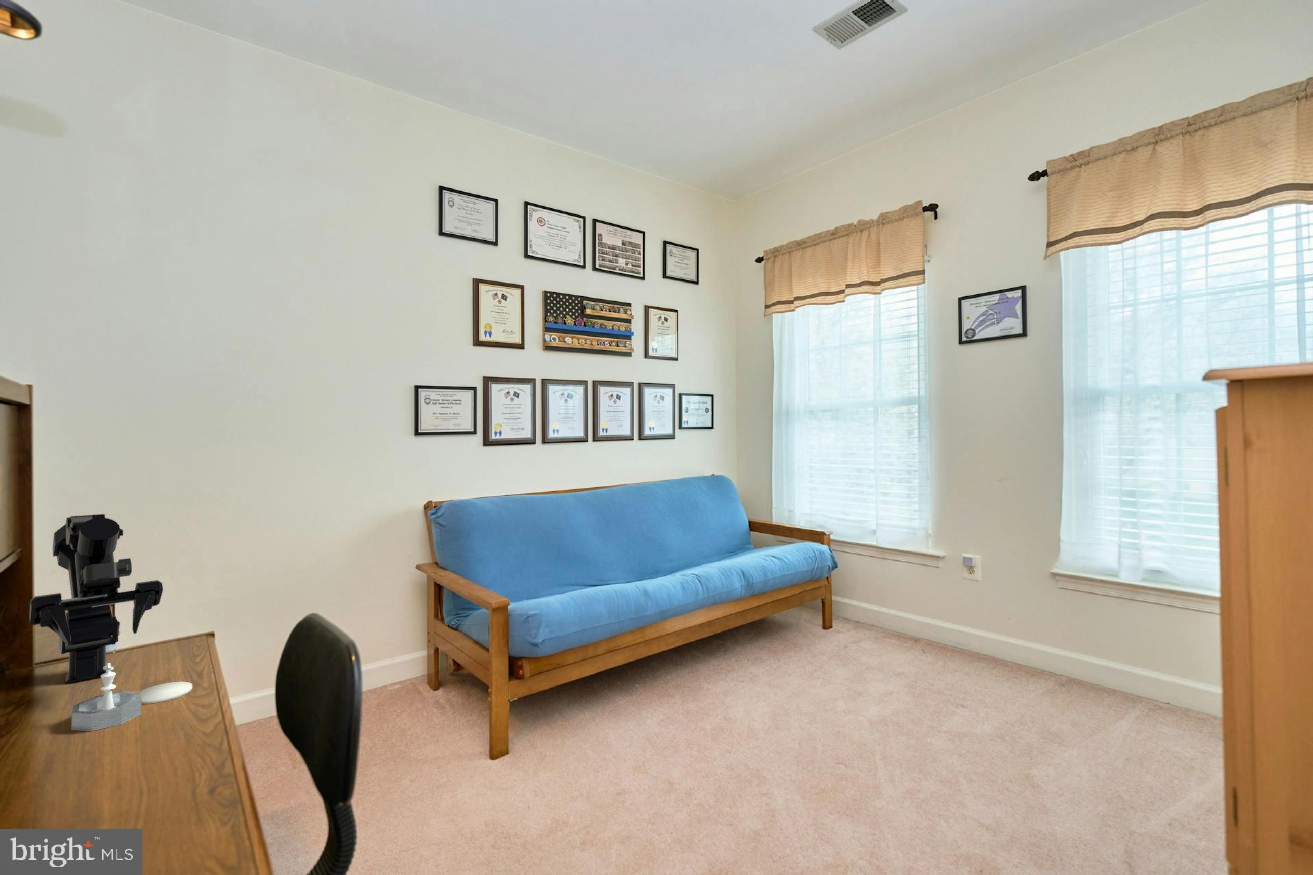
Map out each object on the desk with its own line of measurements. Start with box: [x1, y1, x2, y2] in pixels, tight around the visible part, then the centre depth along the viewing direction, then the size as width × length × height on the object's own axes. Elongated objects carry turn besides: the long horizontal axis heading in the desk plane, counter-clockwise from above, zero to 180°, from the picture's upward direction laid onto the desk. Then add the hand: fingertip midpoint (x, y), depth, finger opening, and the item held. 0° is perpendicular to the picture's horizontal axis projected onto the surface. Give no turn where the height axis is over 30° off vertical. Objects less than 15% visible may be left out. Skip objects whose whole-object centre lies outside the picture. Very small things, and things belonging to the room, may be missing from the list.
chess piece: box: [99, 662, 117, 710], centre depth 108 cm, size 5×5×10 cm
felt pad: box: [139, 681, 193, 705], centre depth 119 cm, size 9×9×1 cm
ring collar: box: [71, 690, 142, 732], centre depth 108 cm, size 9×9×3 cm
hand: (103, 638), depth 113 cm, fingers open, 9 cm apart
